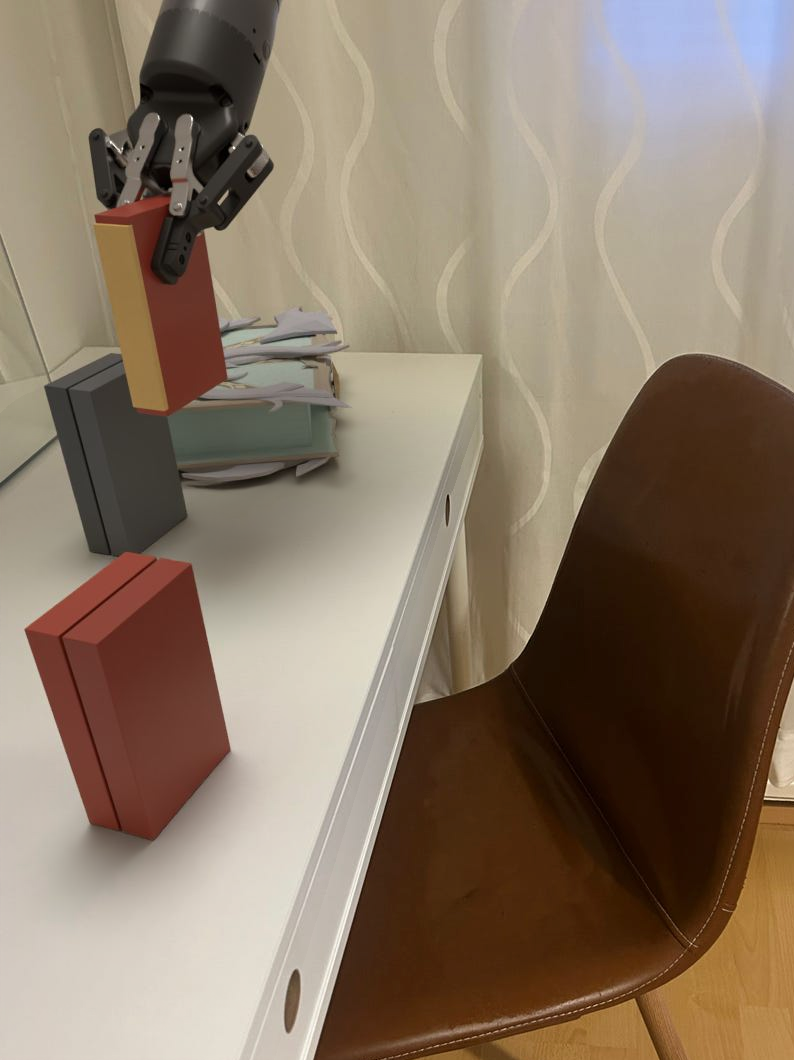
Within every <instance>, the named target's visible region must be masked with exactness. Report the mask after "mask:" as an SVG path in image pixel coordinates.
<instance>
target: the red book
mask: <svg viewBox="0 0 794 1060" xmlns="http://www.w3.org/2000/svg"><path fill="white" fill-rule="evenodd" d="M171 194H172V192H167V193H163V194H159V195H155V196H152V197H148V198H145V199H143V198H141V199H140V200H139V201H136V202H133V203H129V204H126V205H123V206H120V207H117V208H113V209H110V210H108V209H106V210H104V211H101V212H98V213H95V214H94V215H93V216H94V219H95V223H93V224H92V227H93V232H94V236H95V241H96V245H97V250H98V254H99V258H100V263H101V268H102V271H103V272H102V273H103V277H104V281H105V285H106V290H107V295H108V299H109V303H110V309H111V313H112V317H113V323H114V326H115V331H116V335H117V340H118V345H119V349H120V354H122V358H123V363H124V367H125V372H126V377H127V381H128V386H129V390H130V395H131V399H132V404H133V407H136V408H137V412H138V413H143V414H150V415H158V416H165V417H168V416H170V415H171V414H173V413H175V412H176V411H178V410H179V409H181V408H182V407H184V406H186V405H187V404H189V403H190V402H192V401H194V400H195V399H197V398H198V397H200V396H202V395H203V394H205V393H206V392H208V391H209V390H211V389H213V388H214V387H216V386H217V385H219V384H221V383H222V382H224V381H225V380H227V379H228V376H227V370H226V364H225V358H224V351H223V345H222V339H221V333H220V326H219V320H218V318H219V316H218V314H219V313H218V308H217V303H216V295H215V291H214V284H213V283H214V282H213V278H212V271H211V264H210V258H209V252H208V246H207V245H208V244H207V240H206V233H205V230H204V231H203V233H202V234H201V235H200V236H198V237H196V239H195V242H194V245H193V249H192V252H191V255H190V259H189V262H188V266H187V269H186V271H185V273H184V274H183V276H182V277H179V279H178V282H177V284H176V285H169V284H164V283H163V282H162V281H161V280H160V279H159V278H158V277H157V276H156V275H155V274H154V273H153V272H152V270H151V260H152V257H153V254H154V250H155V247H156V244H157V240H158V237H159V234H160V231H161V227H162V224H163V221H164V217H170V218H171V213H170V212H169V205H170V199H171Z"/></svg>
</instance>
